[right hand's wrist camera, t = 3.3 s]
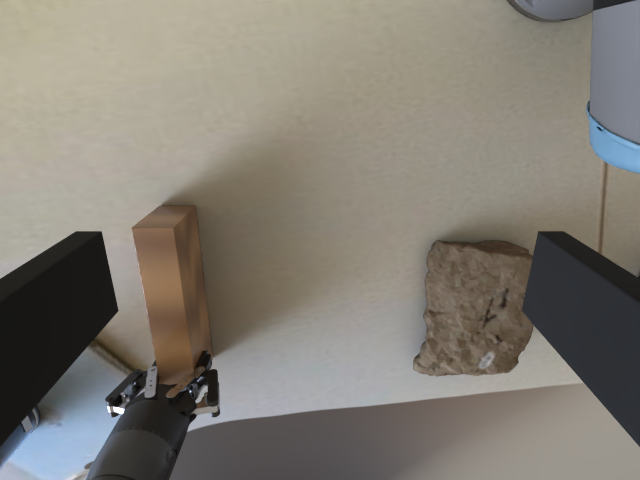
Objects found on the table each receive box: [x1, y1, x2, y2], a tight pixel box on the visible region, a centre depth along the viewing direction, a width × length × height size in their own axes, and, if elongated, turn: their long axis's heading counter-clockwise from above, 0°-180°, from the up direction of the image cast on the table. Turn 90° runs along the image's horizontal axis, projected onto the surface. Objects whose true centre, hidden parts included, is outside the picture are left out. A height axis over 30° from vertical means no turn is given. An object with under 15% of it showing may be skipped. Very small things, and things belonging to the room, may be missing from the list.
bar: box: [132, 206, 213, 396], centre depth 55 cm, size 25×5×9 cm, turn 0°
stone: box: [413, 240, 533, 376], centre depth 57 cm, size 21×15×6 cm
